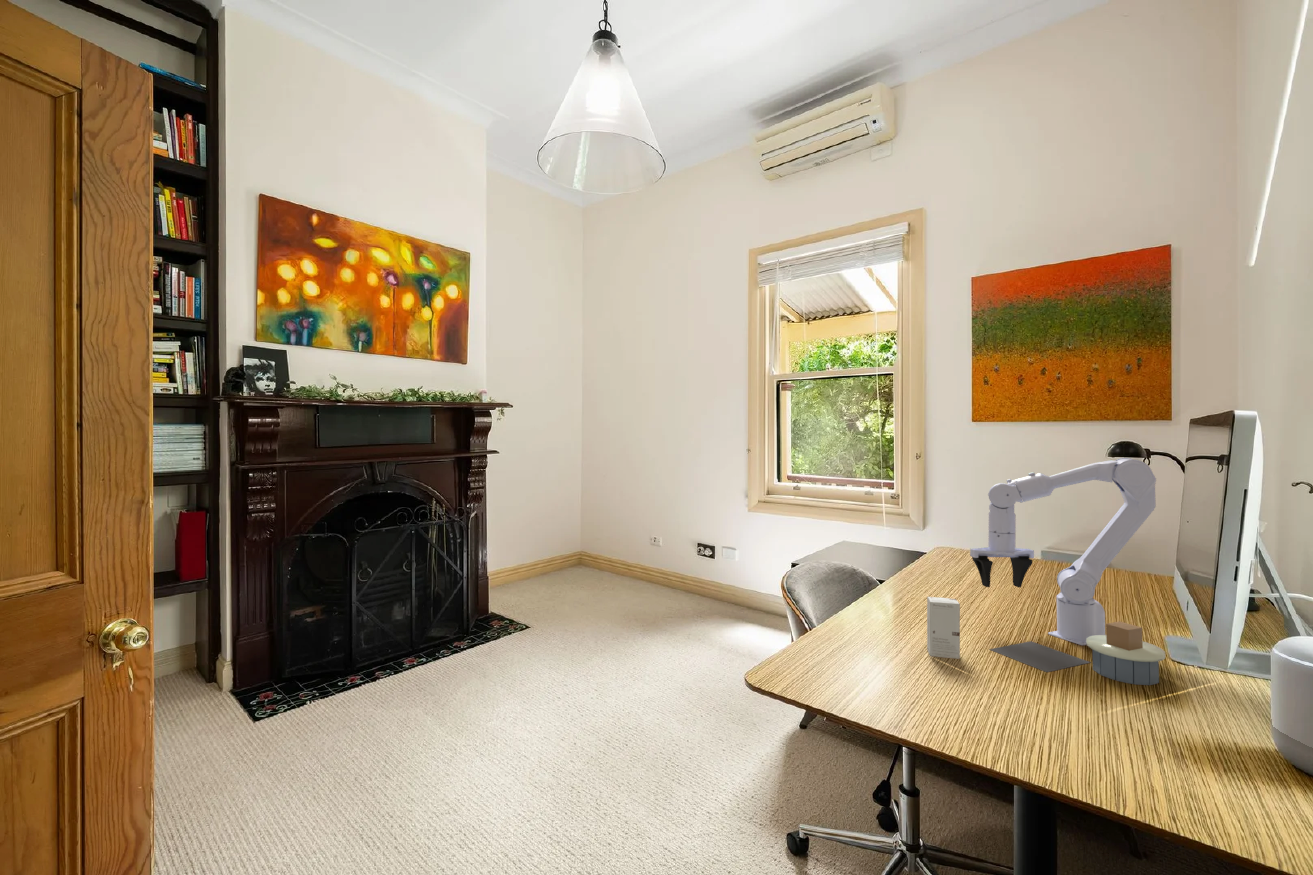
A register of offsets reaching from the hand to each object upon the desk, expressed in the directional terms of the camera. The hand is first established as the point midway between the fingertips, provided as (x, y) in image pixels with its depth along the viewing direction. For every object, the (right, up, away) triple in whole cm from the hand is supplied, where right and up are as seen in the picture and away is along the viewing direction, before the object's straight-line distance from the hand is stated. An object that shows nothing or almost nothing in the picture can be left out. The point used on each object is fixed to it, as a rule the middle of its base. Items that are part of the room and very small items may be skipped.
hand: (1001, 586), depth 138 cm
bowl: (+7, -10, -28) cm, 30 cm away
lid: (+7, -5, -28) cm, 29 cm away
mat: (-3, -11, -18) cm, 21 cm away
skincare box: (-23, -11, -16) cm, 30 cm away
